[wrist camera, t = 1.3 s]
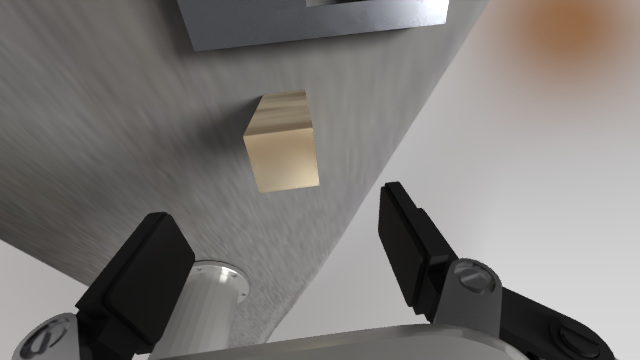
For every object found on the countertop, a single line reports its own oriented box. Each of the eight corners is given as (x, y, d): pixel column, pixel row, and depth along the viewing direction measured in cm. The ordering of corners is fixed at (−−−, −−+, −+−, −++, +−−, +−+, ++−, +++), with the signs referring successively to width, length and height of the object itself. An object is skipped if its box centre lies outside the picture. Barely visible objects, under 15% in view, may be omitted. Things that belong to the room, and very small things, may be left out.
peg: (309, 129, 27) (319, 185, 17) (272, 134, 27) (259, 193, 17) (304, 89, 25) (312, 127, 15) (263, 94, 25) (242, 136, 15)
